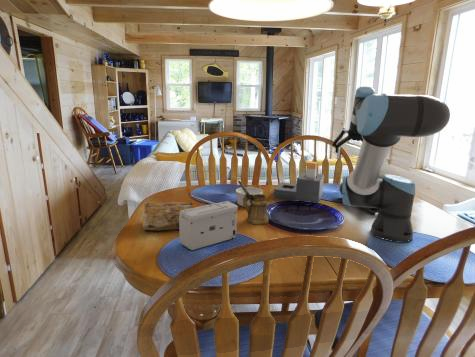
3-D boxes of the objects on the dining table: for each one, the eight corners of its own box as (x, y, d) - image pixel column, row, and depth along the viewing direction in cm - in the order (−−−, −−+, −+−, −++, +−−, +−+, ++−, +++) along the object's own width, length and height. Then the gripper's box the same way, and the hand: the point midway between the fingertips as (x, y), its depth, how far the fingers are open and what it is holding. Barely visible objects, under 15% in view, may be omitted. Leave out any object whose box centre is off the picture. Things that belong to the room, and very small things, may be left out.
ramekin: (260, 200, 171) (260, 187, 169) (263, 208, 158) (264, 194, 156) (234, 199, 170) (235, 186, 168) (236, 208, 157) (236, 194, 155)
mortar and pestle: (236, 217, 146) (237, 177, 141) (266, 217, 146) (268, 177, 142) (237, 224, 137) (238, 182, 133) (269, 224, 138) (271, 183, 133)
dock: (318, 204, 166) (320, 181, 163) (273, 198, 173) (274, 176, 170) (322, 195, 180) (324, 174, 177) (280, 190, 188) (282, 170, 185)
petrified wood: (191, 218, 142) (192, 198, 137) (193, 236, 130) (194, 215, 126) (145, 218, 138) (144, 198, 134) (142, 237, 127) (141, 215, 122)
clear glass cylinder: (314, 182, 170) (315, 163, 167) (305, 181, 171) (306, 162, 169) (315, 180, 174) (317, 162, 171) (306, 179, 175) (308, 161, 173)
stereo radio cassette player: (226, 231, 130) (227, 182, 125) (239, 238, 124) (240, 187, 119) (178, 244, 118) (177, 190, 113) (189, 253, 111) (189, 196, 107)
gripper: (390, 121, 144) (380, 160, 158) (332, 114, 152) (327, 151, 166) (389, 130, 139) (379, 169, 152) (329, 122, 147) (324, 160, 161)
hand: (352, 160), depth 159 cm, fingers open, 13 cm apart
